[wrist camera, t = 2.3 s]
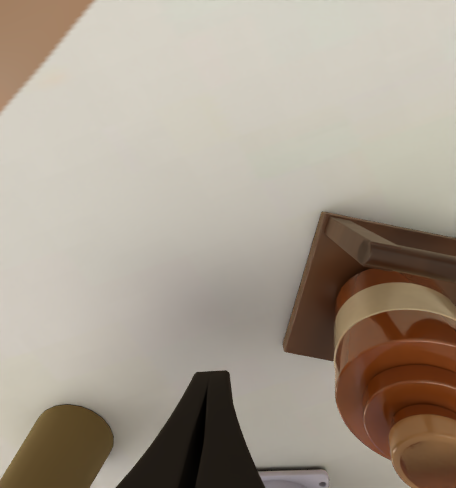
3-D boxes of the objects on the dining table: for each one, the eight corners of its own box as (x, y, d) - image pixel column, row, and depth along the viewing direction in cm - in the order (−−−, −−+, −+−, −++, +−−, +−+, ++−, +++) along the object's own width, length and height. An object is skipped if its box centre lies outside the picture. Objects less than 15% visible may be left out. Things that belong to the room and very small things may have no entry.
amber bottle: (445, 364, 15) (558, 578, 7) (333, 348, 17) (332, 505, 9) (459, 266, 13) (621, 412, 6) (334, 262, 15) (334, 368, 8)
